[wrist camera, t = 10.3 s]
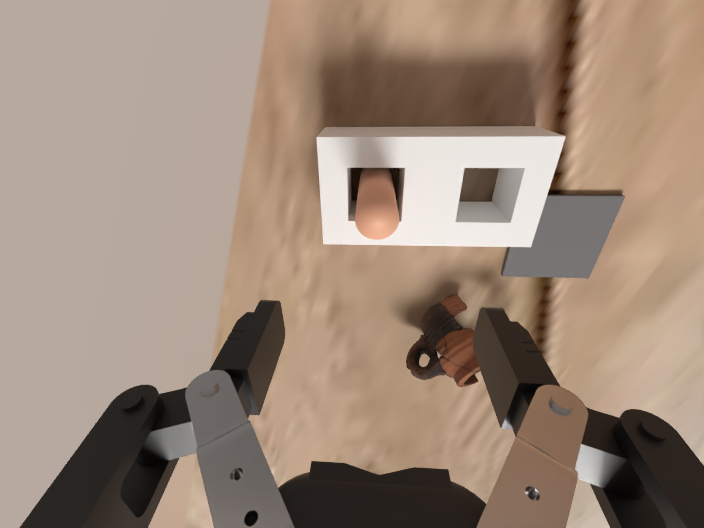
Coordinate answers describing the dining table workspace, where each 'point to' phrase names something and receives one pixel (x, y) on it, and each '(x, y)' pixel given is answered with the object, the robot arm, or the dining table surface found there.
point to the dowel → (376, 204)
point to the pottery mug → (445, 345)
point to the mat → (566, 237)
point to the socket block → (441, 182)
